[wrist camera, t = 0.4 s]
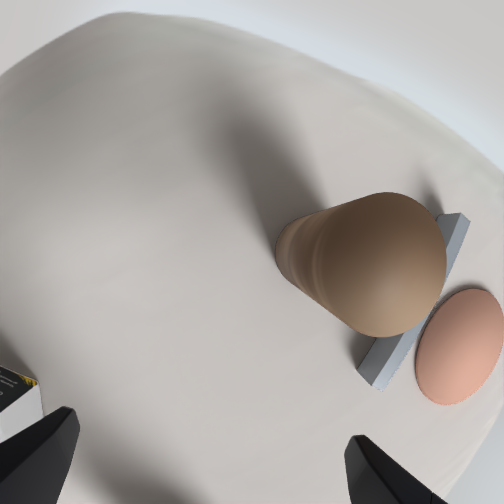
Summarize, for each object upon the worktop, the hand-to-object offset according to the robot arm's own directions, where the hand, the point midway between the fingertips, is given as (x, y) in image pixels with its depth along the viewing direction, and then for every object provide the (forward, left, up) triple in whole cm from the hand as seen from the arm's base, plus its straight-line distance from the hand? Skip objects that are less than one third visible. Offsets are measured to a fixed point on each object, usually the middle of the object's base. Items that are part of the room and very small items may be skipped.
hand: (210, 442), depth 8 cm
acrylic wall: (+2, -14, -14) cm, 20 cm away
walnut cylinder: (+5, -6, -14) cm, 16 cm away
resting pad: (-3, -21, -14) cm, 25 cm away
